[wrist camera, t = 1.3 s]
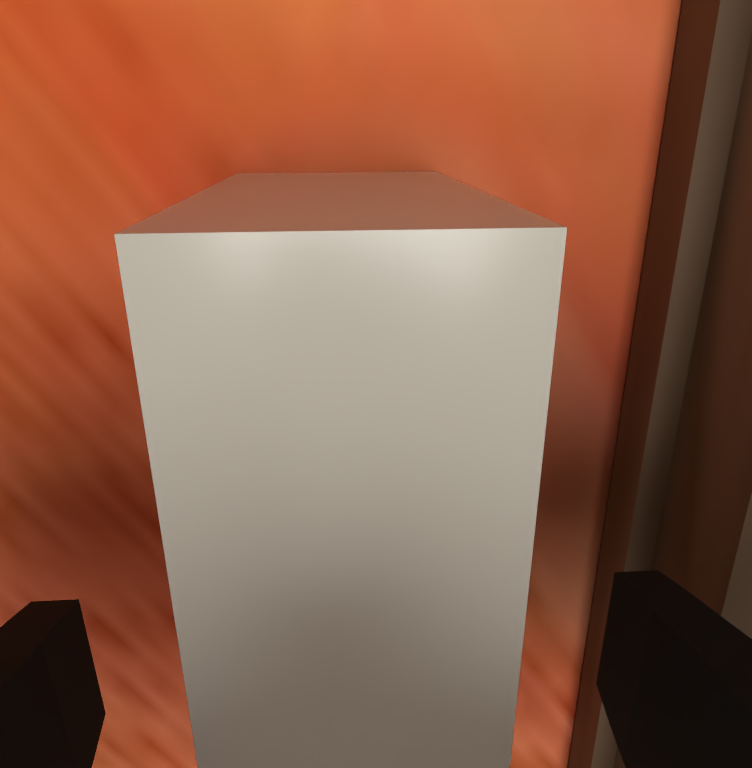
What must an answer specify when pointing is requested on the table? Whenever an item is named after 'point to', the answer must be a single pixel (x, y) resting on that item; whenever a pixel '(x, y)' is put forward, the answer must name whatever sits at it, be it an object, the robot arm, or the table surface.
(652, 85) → the table surface
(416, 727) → the white rectangular block
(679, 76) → the rack
